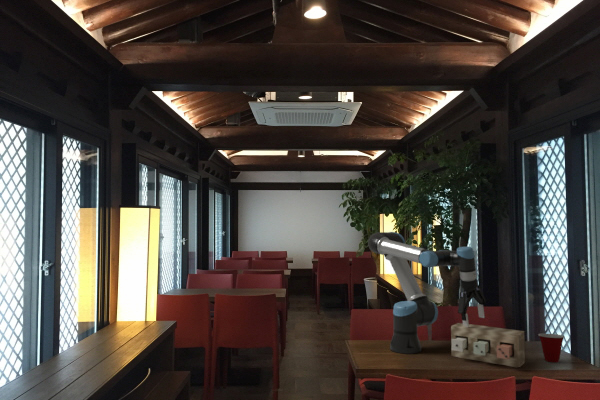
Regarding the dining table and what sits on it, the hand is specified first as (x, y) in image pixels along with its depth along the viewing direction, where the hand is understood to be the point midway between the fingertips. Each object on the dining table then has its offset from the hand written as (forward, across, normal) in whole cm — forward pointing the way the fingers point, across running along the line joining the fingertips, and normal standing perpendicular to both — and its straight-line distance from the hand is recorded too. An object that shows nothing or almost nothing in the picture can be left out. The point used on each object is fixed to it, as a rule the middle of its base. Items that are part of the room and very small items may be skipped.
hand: (474, 322), depth 225 cm
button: (+9, -14, 0) cm, 16 cm away
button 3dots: (+9, -9, -19) cm, 23 cm away
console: (+15, -5, -8) cm, 17 cm away
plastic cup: (+19, +17, -27) cm, 37 cm away
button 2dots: (+9, -11, -10) cm, 17 cm away
